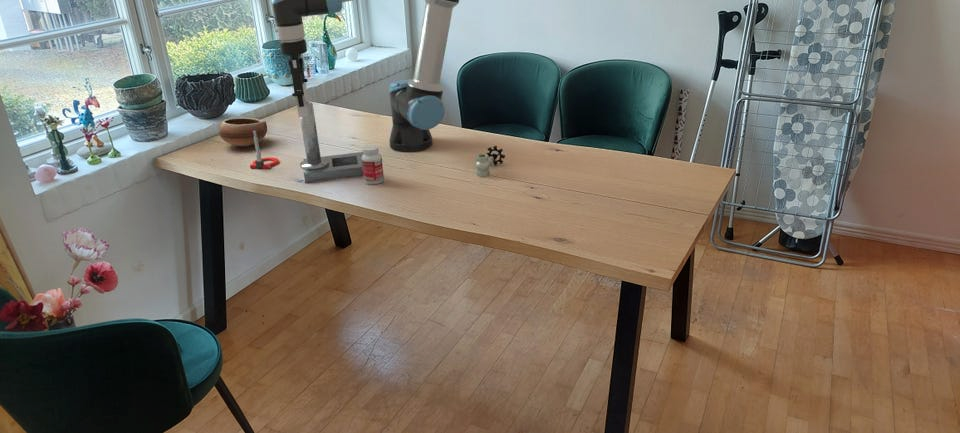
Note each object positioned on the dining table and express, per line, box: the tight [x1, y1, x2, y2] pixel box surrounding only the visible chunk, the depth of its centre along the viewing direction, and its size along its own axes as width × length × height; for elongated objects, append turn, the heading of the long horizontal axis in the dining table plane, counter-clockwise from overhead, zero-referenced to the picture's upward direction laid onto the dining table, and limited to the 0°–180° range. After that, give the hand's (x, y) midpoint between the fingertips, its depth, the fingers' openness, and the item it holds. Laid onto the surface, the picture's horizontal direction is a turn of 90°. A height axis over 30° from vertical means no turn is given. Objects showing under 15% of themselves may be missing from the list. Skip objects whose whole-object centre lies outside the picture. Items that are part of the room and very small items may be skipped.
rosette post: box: [299, 101, 364, 184], centre depth 216 cm, size 21×14×23 cm, turn 103°
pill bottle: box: [362, 145, 385, 185], centre depth 210 cm, size 6×6×11 cm
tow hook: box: [249, 131, 280, 170], centre depth 228 cm, size 8×13×9 cm
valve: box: [475, 145, 506, 178], centre depth 215 cm, size 7×7×12 cm
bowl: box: [219, 117, 268, 147], centre depth 247 cm, size 16×16×10 cm
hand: (304, 110), depth 207 cm, fingers open, 13 cm apart
